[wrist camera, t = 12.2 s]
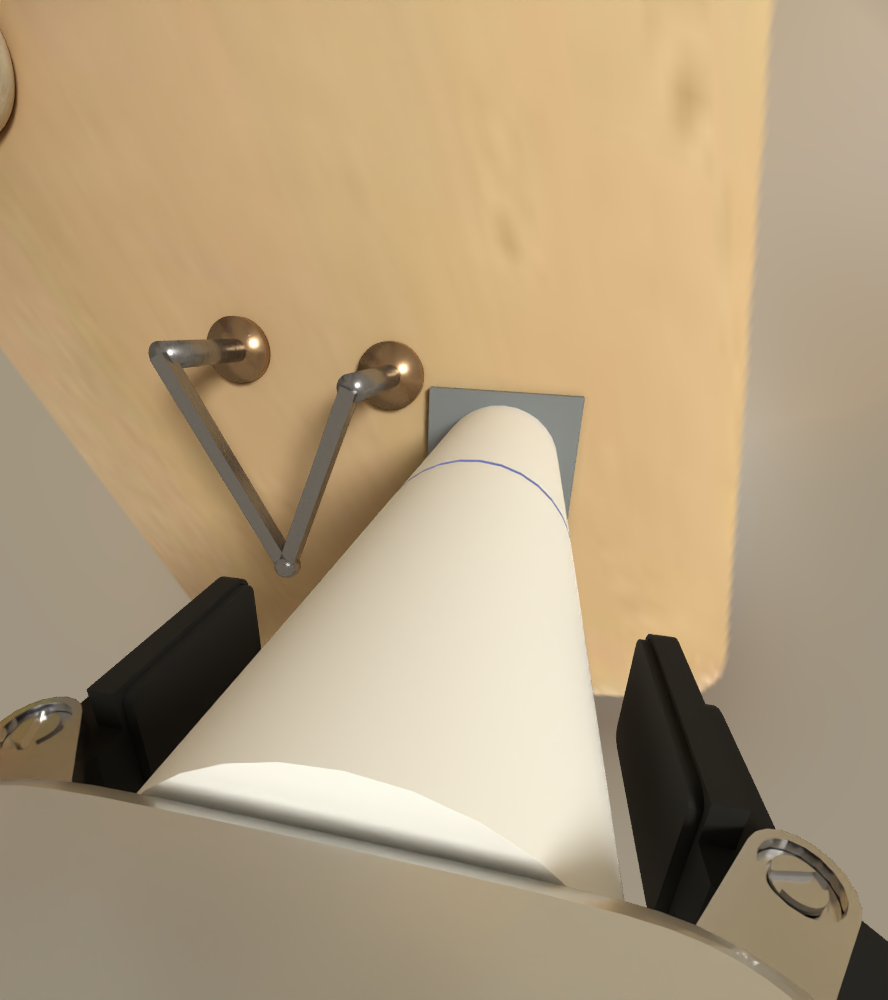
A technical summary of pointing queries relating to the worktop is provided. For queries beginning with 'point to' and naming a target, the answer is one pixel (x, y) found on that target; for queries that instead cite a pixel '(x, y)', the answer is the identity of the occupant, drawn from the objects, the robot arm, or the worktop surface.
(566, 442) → the mat
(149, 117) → the worktop surface
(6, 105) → the stacking toy
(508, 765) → the cylindrical container
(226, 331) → the metal linkage
